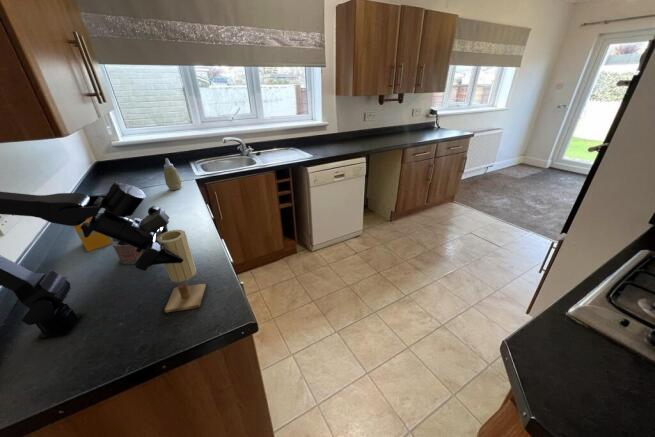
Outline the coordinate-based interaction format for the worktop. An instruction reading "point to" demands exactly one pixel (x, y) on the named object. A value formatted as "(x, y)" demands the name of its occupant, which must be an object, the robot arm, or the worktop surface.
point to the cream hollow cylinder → (180, 247)
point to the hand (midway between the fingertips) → (182, 254)
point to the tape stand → (185, 297)
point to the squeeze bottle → (171, 176)
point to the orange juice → (92, 238)
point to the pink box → (125, 252)
